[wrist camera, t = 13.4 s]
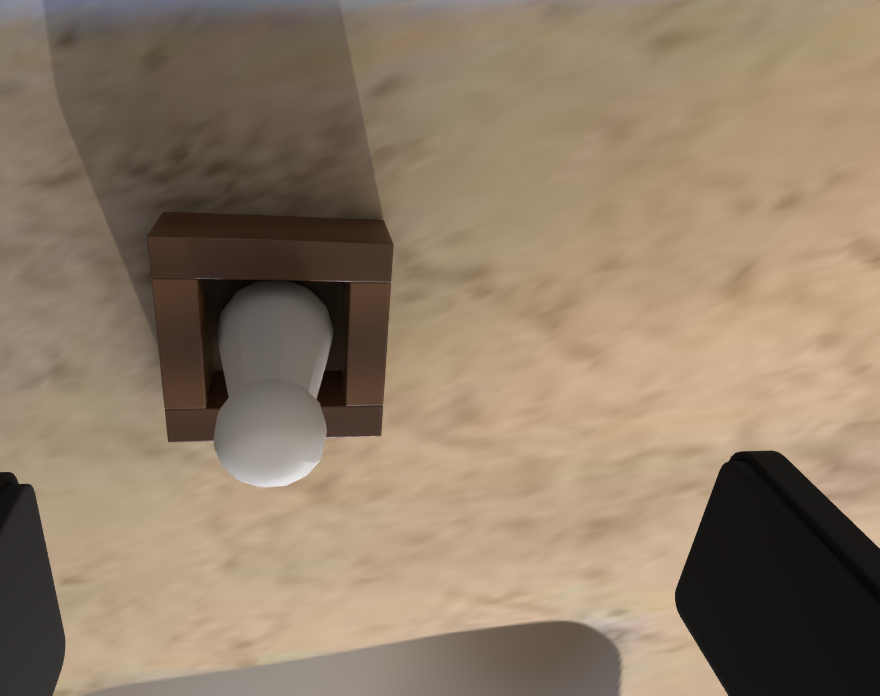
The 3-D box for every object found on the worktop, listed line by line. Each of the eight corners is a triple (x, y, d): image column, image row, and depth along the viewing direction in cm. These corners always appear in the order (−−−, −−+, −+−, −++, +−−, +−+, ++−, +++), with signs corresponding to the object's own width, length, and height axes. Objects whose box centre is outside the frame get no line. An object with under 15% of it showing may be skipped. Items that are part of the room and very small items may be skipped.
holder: (162, 211, 33) (146, 235, 30) (384, 220, 36) (393, 243, 32) (179, 402, 38) (167, 443, 35) (374, 399, 40) (381, 437, 37)
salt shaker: (257, 377, 38) (240, 535, 27) (200, 294, 36) (155, 431, 24) (349, 333, 38) (372, 473, 27) (299, 246, 35) (301, 361, 24)
